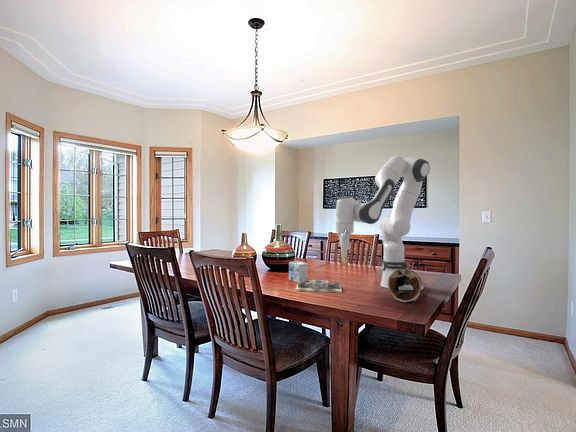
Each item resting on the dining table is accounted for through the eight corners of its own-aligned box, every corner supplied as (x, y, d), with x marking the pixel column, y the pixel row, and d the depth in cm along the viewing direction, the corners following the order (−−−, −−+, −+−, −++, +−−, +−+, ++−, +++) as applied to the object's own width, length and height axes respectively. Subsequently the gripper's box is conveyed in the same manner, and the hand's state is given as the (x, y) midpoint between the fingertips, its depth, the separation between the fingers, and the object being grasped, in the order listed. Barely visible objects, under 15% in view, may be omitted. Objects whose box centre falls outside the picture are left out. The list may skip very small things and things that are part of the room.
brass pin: (347, 264, 171) (347, 244, 171) (347, 265, 168) (347, 245, 168) (341, 264, 171) (341, 244, 171) (341, 265, 168) (341, 245, 168)
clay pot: (420, 268, 178) (419, 267, 155) (423, 298, 175) (423, 301, 152) (390, 270, 184) (386, 269, 161) (394, 299, 180) (389, 302, 158)
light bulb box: (288, 279, 206) (288, 261, 206) (297, 278, 210) (297, 260, 210) (299, 282, 197) (299, 264, 197) (308, 281, 201) (308, 263, 201)
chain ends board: (341, 287, 187) (341, 279, 187) (341, 292, 175) (341, 284, 175) (297, 285, 190) (297, 278, 190) (295, 290, 178) (295, 283, 178)
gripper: (352, 230, 159) (352, 259, 159) (349, 227, 179) (349, 254, 179) (339, 230, 159) (338, 259, 160) (337, 227, 180) (337, 253, 180)
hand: (344, 256), depth 170 cm, fingers closed on brass pin, 3 cm apart
